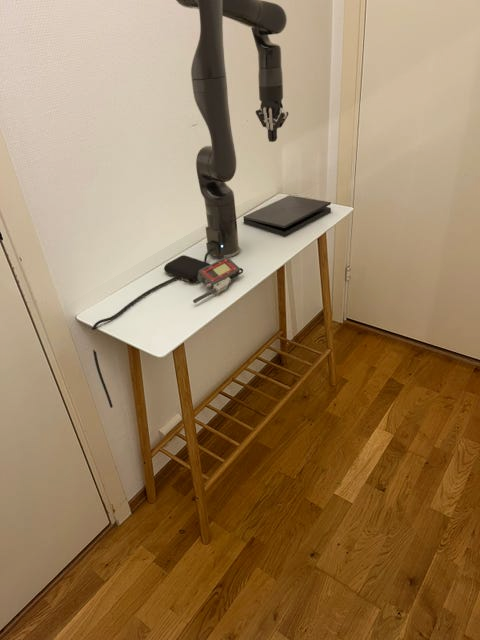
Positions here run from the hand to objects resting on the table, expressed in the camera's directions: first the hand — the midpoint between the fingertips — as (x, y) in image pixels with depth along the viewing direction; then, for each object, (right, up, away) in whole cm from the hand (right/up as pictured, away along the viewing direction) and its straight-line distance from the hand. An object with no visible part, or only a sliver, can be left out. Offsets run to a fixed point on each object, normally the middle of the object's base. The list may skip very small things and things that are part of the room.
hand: (272, 141), depth 150 cm
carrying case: (-27, -46, -13) cm, 55 cm away
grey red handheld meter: (-18, -47, -24) cm, 56 cm away
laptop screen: (+6, -20, +15) cm, 26 cm away
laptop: (+7, -22, +16) cm, 28 cm away
